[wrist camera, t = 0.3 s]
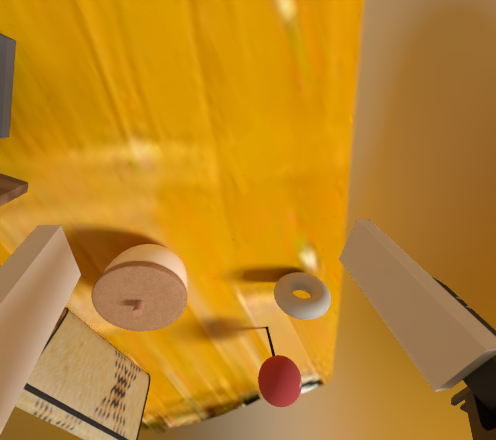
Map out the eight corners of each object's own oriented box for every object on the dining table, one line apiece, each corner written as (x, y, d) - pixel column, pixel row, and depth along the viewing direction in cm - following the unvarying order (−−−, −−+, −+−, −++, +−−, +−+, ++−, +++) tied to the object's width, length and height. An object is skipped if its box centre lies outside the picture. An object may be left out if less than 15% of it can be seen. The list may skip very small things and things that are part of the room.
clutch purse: (32, 313, 43) (-47, 408, 30) (64, 298, 43) (-2, 390, 30) (133, 387, 57) (109, 473, 44) (158, 377, 57) (142, 462, 44)
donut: (268, 284, 47) (280, 327, 38) (269, 270, 46) (282, 312, 37) (316, 280, 48) (339, 321, 40) (319, 266, 47) (343, 306, 38)
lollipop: (271, 341, 56) (289, 418, 43) (244, 333, 53) (254, 412, 40) (290, 321, 53) (316, 395, 40) (262, 311, 51) (280, 387, 37)
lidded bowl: (105, 276, 41) (73, 331, 32) (129, 218, 37) (99, 262, 27) (175, 296, 46) (164, 351, 36) (203, 247, 41) (200, 294, 32)
